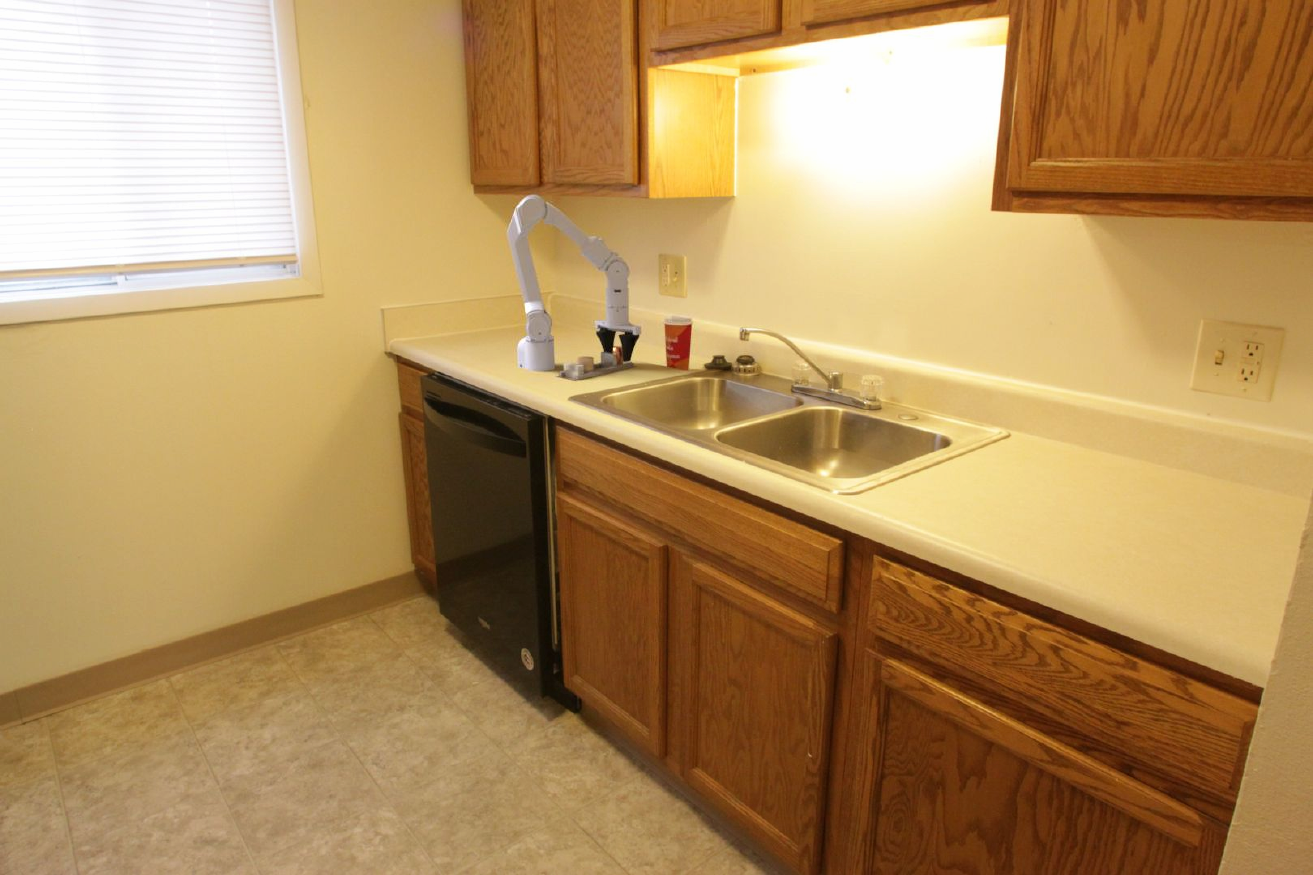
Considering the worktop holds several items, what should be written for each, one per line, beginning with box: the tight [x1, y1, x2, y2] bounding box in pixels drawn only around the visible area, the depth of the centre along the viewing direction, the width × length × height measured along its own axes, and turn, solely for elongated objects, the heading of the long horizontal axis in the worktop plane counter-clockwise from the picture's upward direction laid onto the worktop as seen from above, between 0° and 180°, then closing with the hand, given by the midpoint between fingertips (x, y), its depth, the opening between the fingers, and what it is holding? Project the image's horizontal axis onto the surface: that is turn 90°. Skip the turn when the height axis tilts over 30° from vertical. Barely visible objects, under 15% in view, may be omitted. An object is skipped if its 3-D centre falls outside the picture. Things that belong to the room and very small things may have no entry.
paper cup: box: [662, 315, 694, 372], centre depth 226 cm, size 8×8×14 cm
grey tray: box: [555, 362, 638, 382], centre depth 221 cm, size 7×22×4 cm, turn 138°
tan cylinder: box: [576, 356, 595, 373], centre depth 218 cm, size 4×4×4 cm
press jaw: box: [600, 345, 633, 368], centre depth 225 cm, size 4×7×5 cm, turn 138°
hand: (617, 359), depth 226 cm, fingers open, 6 cm apart
